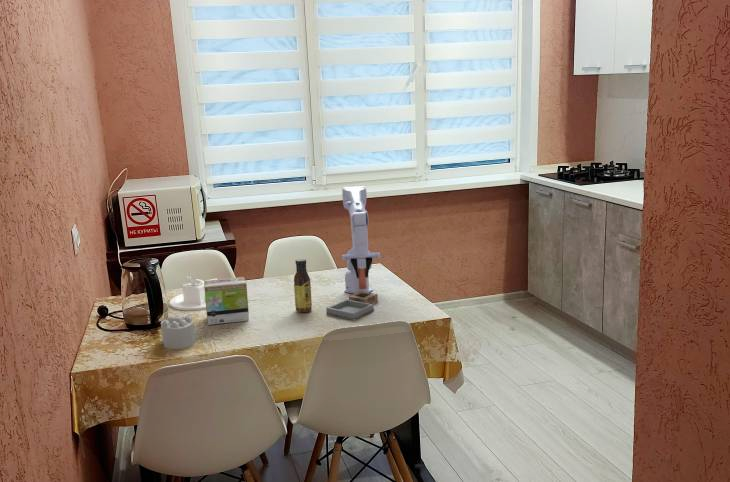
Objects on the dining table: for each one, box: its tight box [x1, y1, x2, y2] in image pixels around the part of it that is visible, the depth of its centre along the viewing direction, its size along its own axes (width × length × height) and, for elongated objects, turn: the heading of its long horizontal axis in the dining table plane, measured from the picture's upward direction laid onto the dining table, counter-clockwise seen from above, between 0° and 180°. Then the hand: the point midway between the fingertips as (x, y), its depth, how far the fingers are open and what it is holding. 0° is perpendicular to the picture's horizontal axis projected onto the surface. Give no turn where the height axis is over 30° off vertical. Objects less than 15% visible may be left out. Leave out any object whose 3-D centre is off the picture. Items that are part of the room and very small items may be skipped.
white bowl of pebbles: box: [160, 314, 197, 350], centre depth 221 cm, size 10×13×9 cm
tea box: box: [203, 276, 250, 326], centre depth 242 cm, size 15×10×15 cm
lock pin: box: [358, 267, 367, 289], centre depth 253 cm, size 3×3×8 cm
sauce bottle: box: [293, 258, 313, 313], centre depth 247 cm, size 7×6×20 cm
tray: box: [325, 298, 375, 321], centre depth 244 cm, size 13×12×2 cm
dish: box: [169, 274, 218, 312], centre depth 267 cm, size 25×25×11 cm
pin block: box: [348, 291, 379, 305], centre depth 255 cm, size 8×8×3 cm
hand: (362, 277), depth 253 cm, fingers closed on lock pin, 3 cm apart
